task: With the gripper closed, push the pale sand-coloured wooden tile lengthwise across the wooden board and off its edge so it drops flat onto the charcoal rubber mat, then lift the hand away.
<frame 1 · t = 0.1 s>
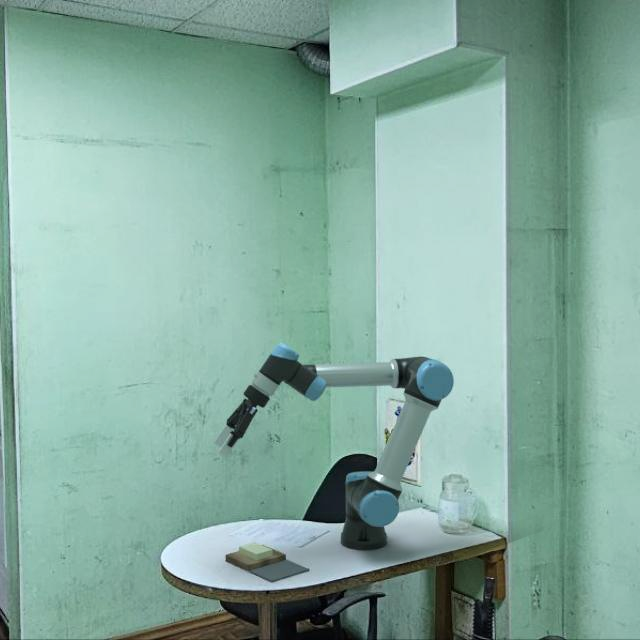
hand: (219, 450, 247), 36 cm above the table, fingers open, 13 cm apart
tile: (255, 554, 255), point 2 cm above the table, touching wooden board
wooden board: (255, 560, 255), on the table
mat: (279, 571, 246), on the table
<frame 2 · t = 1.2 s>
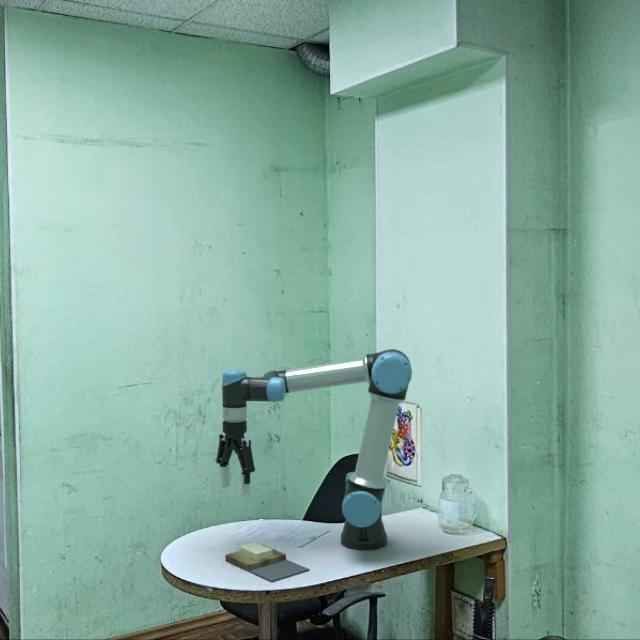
hand: (235, 490, 261), 20 cm above the table, fingers open, 10 cm apart
nothing on the table moved.
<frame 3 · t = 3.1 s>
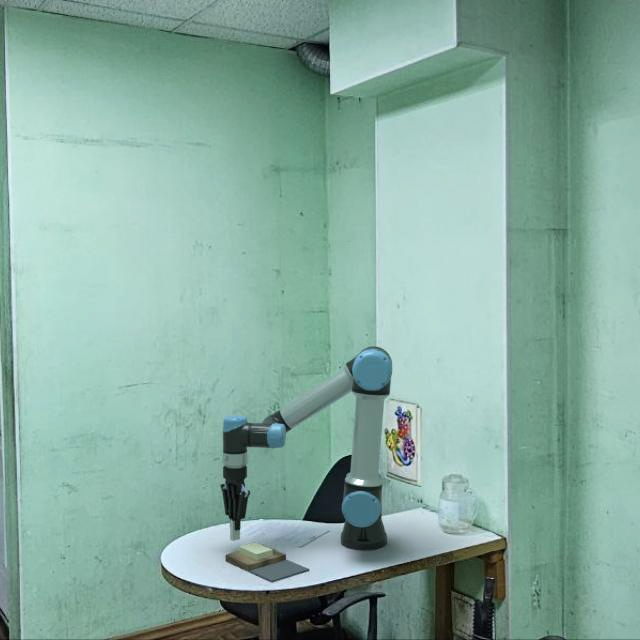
hand: (235, 539, 262), 4 cm above the table, fingers closed
nothing on the table moved.
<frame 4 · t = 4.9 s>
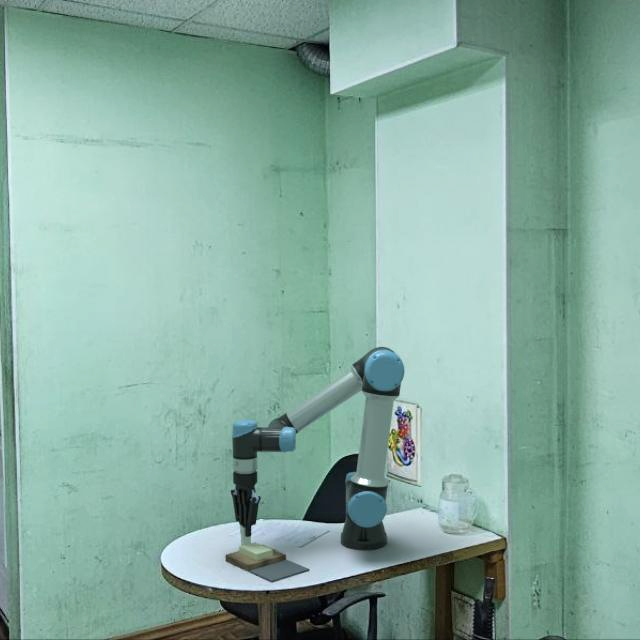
hand: (246, 545, 259), 3 cm above the table, fingers closed
tile: (255, 554, 255), point 2 cm above the table, touching gripper
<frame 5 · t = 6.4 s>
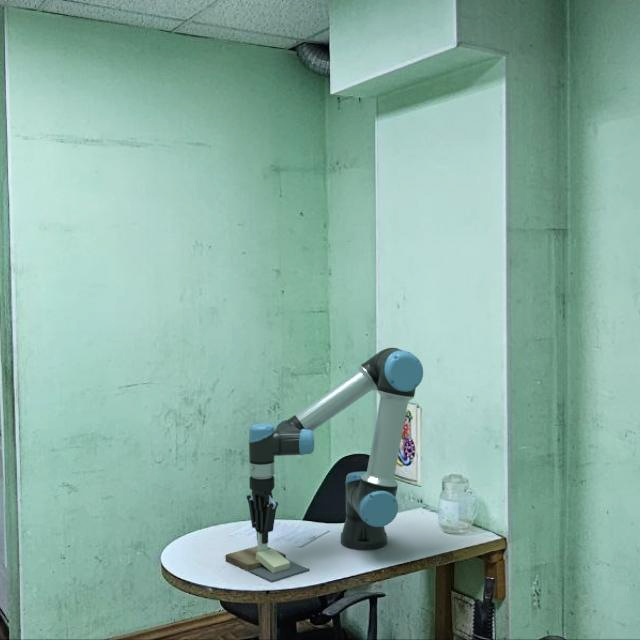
hand: (262, 552, 252), 3 cm above the table, fingers closed
tile: (272, 563, 248), point 1 cm above the table, tilted 13°, touching mat
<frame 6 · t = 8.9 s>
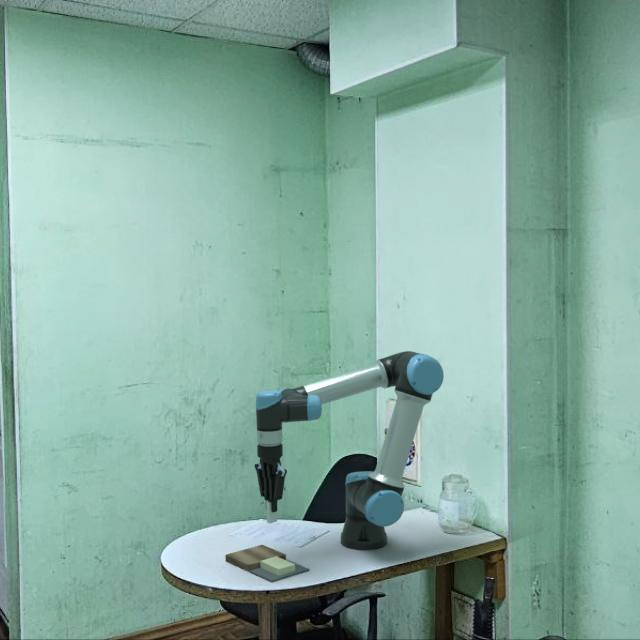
hand: (272, 521, 248), 14 cm above the table, fingers closed
tile: (277, 569, 246), resting on mat
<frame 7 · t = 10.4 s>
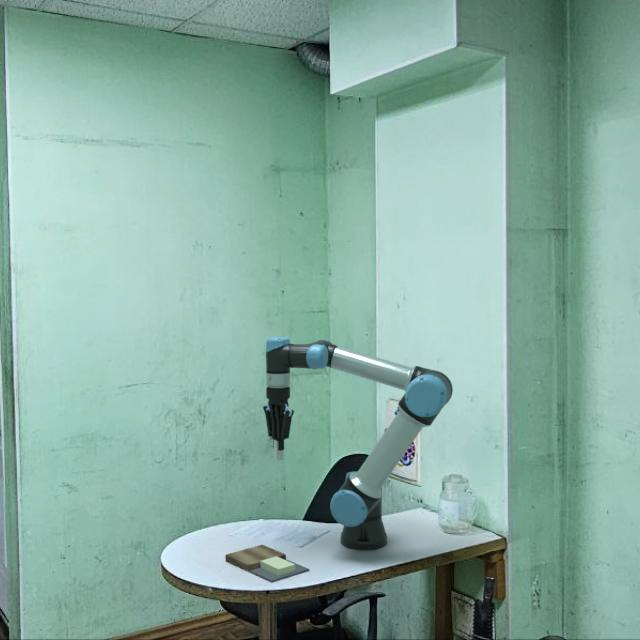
hand: (278, 459, 265), 28 cm above the table, fingers closed
nothing on the table moved.
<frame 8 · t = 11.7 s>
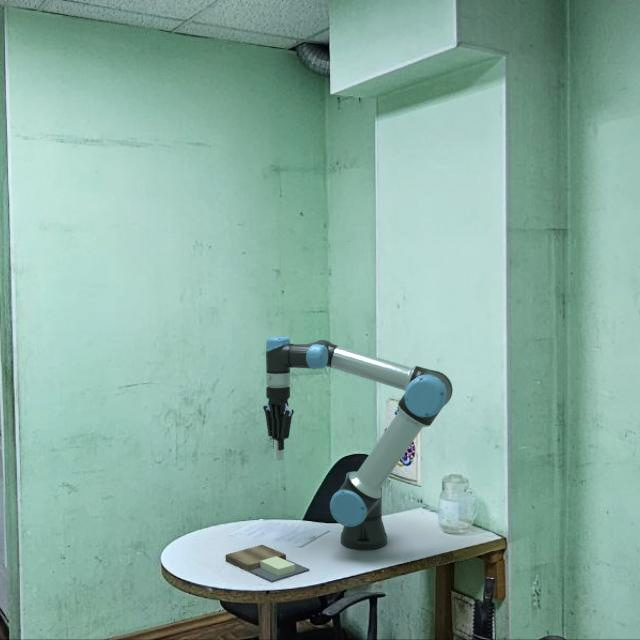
hand: (278, 459, 265), 28 cm above the table, fingers closed
nothing on the table moved.
at the end: tile inside the target area on the mat (1.0 cm from its centre), point 0.5 cm above the mat's base; tile point 0.5 cm above the table; tile tilted 0° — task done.
